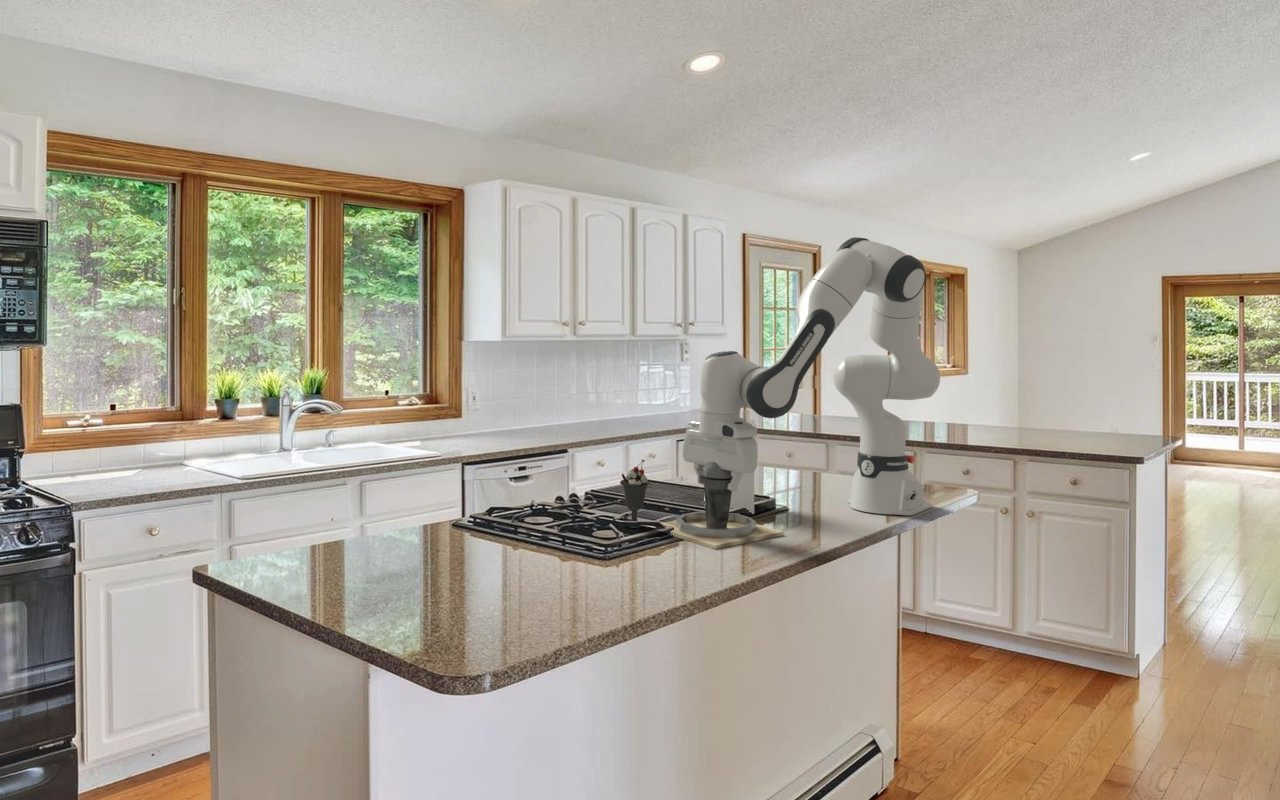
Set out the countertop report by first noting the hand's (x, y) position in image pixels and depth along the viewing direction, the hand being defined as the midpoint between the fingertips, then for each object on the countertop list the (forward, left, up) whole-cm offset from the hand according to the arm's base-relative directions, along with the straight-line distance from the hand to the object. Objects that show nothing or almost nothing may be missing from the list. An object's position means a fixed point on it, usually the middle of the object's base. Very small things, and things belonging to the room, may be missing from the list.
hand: (717, 487), depth 191 cm
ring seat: (0, 0, -10) cm, 10 cm away
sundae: (+12, -14, -10) cm, 21 cm away
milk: (-20, -16, -10) cm, 27 cm away
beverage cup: (0, 0, -9) cm, 9 cm away
